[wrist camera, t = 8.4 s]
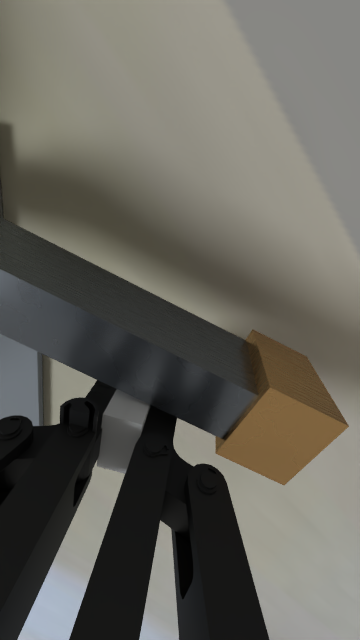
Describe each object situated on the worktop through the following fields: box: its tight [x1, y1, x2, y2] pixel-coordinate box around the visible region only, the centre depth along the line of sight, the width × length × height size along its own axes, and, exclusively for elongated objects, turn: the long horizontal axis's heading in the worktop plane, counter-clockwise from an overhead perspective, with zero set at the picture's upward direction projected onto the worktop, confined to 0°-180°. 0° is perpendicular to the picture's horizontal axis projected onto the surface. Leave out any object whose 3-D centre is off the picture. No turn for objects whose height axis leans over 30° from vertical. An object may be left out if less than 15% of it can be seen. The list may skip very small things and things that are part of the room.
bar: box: [0, 217, 349, 485], centre depth 10 cm, size 25×4×4 cm, turn 64°
